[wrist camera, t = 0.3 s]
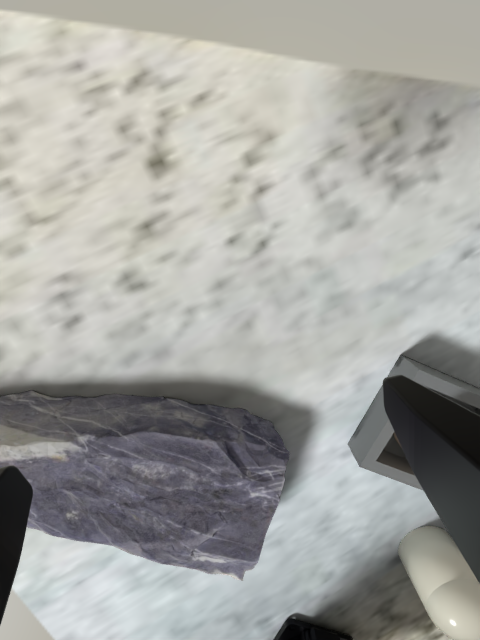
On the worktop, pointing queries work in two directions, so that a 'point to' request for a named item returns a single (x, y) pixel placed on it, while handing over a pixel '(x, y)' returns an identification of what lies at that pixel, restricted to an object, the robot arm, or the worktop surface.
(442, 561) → the egg
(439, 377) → the carton
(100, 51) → the worktop surface
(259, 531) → the rock
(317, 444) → the worktop surface
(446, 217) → the worktop surface
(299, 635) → the robot arm
